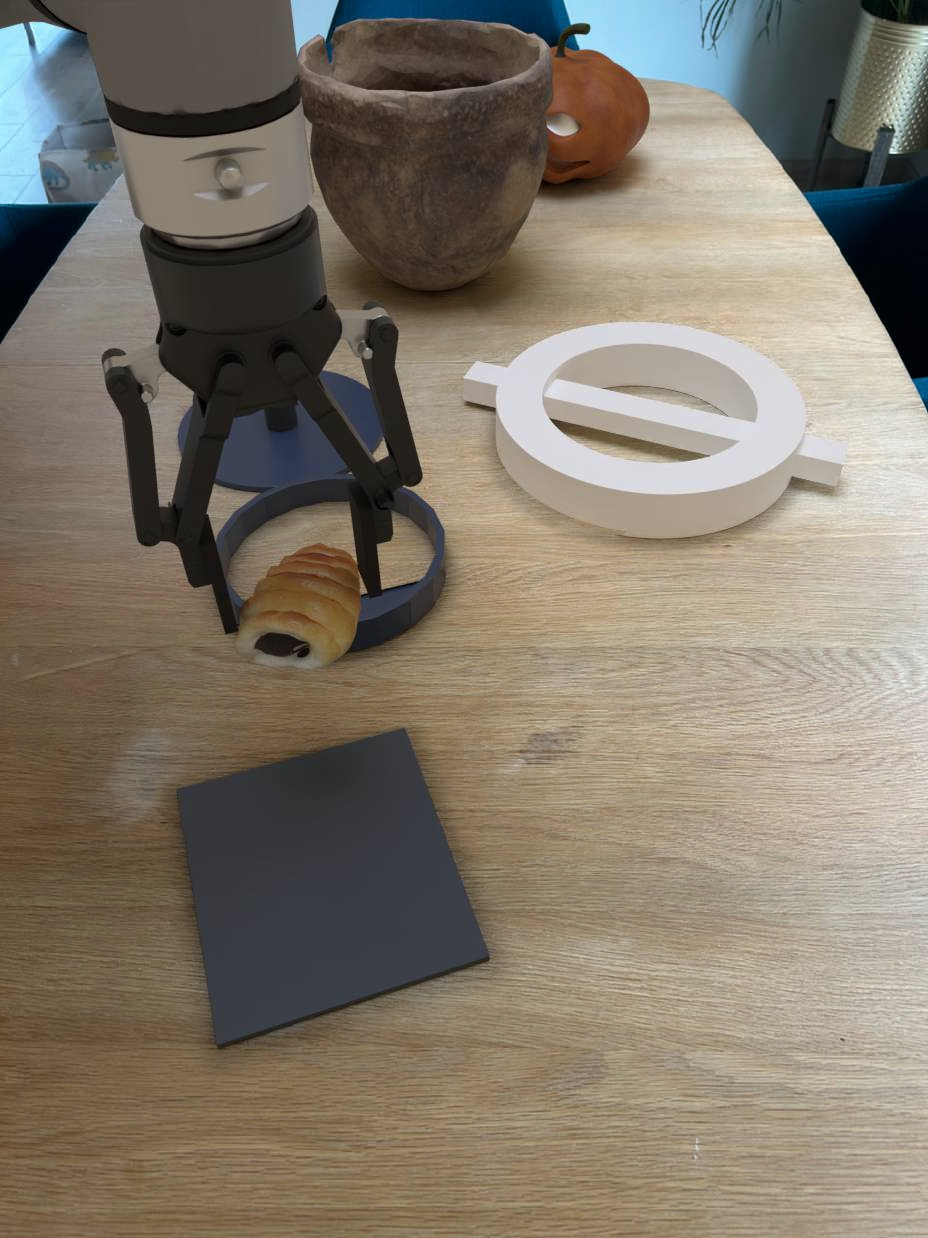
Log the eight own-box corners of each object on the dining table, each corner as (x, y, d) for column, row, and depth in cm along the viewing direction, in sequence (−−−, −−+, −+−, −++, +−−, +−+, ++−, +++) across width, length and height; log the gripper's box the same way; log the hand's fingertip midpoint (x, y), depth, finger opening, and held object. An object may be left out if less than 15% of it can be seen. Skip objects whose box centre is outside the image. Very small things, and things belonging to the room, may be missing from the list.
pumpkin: (430, 167, 142) (424, 17, 129) (553, 122, 154) (559, -20, 140) (556, 221, 129) (565, 60, 115) (680, 167, 140) (701, 15, 127)
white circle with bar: (453, 397, 101) (452, 355, 97) (696, 341, 107) (703, 300, 104) (572, 572, 82) (576, 527, 79) (857, 492, 89) (872, 448, 86)
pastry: (283, 559, 64) (273, 513, 61) (384, 572, 63) (380, 526, 60) (231, 667, 58) (218, 621, 55) (343, 683, 57) (336, 637, 54)
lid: (168, 399, 101) (147, 320, 95) (357, 363, 106) (349, 286, 99) (195, 517, 88) (173, 434, 82) (410, 471, 92) (405, 389, 86)
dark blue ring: (204, 527, 87) (197, 500, 85) (409, 483, 91) (407, 455, 89) (240, 680, 75) (233, 652, 72) (476, 621, 78) (475, 592, 76)
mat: (178, 793, 68) (176, 788, 67) (405, 731, 71) (404, 727, 71) (218, 1048, 55) (216, 1045, 55) (489, 960, 59) (489, 956, 59)
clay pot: (287, 316, 113) (250, 74, 95) (369, 221, 130) (351, 1, 112) (512, 349, 107) (517, 99, 89) (566, 245, 124) (580, 17, 106)
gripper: (-31, 294, 37) (127, 691, 54) (487, 208, 42) (487, 598, 58) (-31, 214, 42) (113, 600, 59) (432, 145, 47) (446, 521, 63)
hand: (299, 599), depth 58 cm, fingers closed on pastry, 8 cm apart
